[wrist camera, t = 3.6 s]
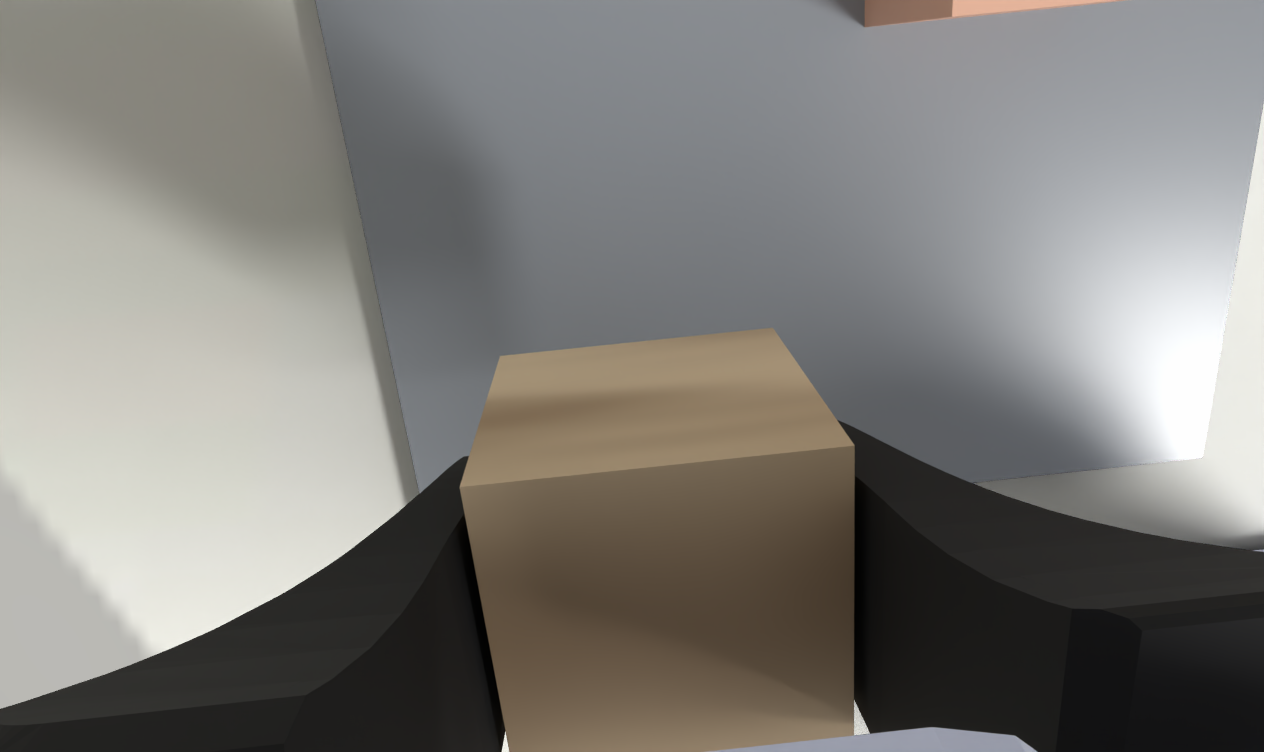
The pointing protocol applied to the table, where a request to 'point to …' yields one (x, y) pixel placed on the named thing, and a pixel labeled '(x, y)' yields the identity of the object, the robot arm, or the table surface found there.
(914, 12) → the base brick
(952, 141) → the baseplate
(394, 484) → the table surface
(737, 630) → the top brick
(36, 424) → the table surface
